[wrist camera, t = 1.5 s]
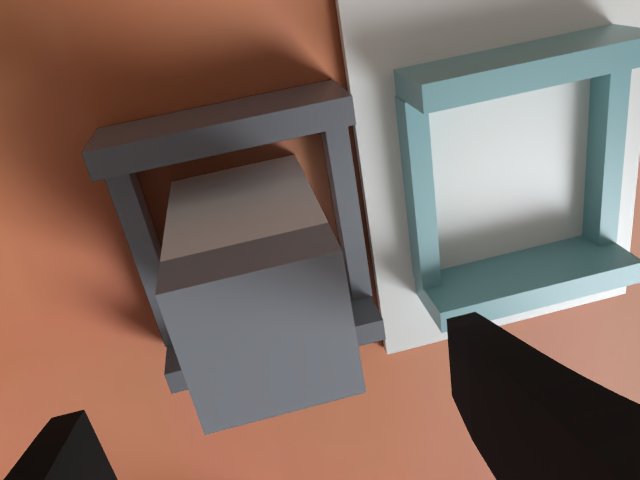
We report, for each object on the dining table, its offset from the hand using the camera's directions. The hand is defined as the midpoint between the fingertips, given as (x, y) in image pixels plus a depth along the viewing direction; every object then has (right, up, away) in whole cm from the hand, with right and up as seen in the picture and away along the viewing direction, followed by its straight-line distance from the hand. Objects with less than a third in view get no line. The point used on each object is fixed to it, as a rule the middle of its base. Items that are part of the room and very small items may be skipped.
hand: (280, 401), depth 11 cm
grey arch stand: (-2, +4, +8) cm, 9 cm away
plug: (-2, +4, +8) cm, 9 cm away
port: (+7, +6, +9) cm, 13 cm away
